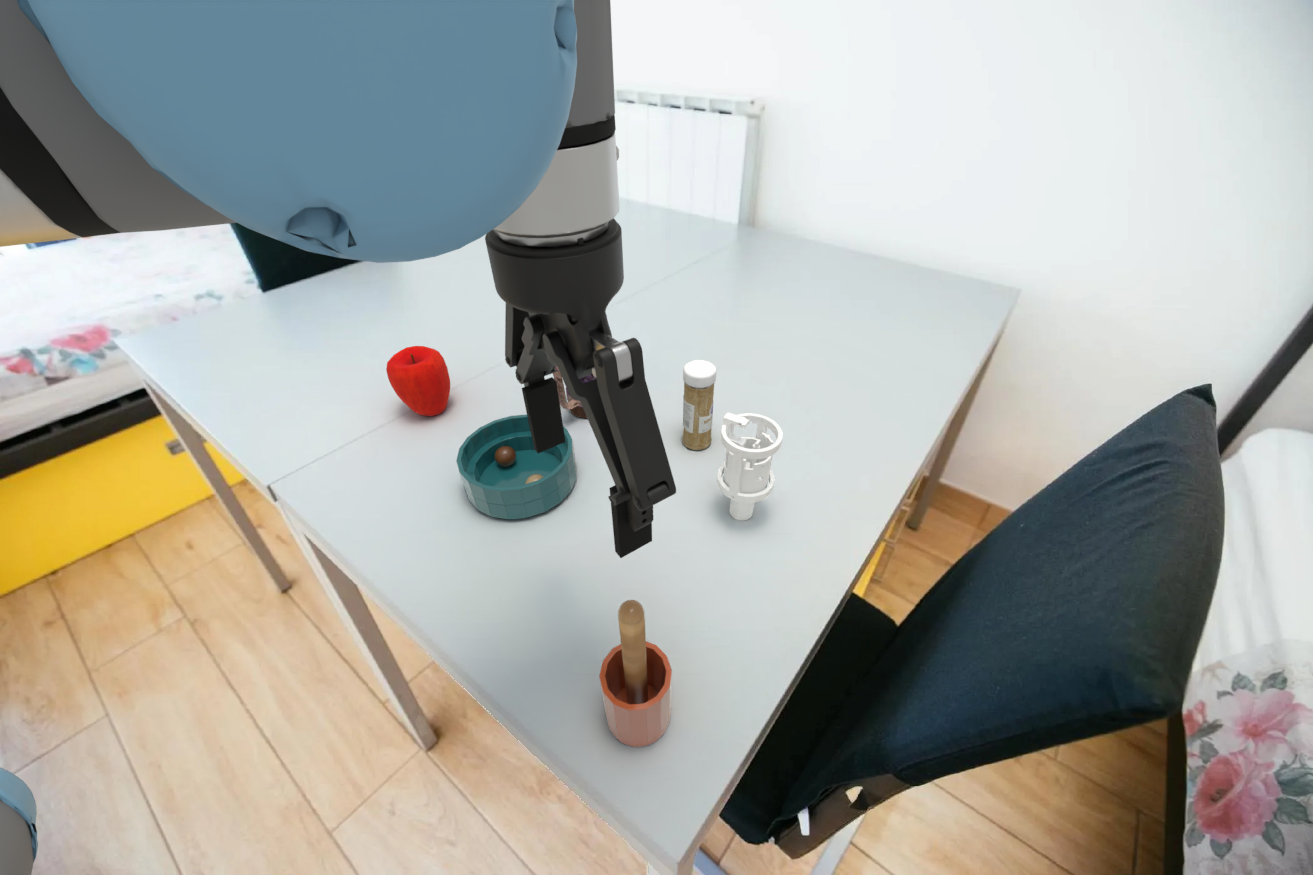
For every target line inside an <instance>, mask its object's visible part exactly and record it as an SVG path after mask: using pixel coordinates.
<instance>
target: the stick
mask: <svg viewBox="0 0 1313 875" xmlns="http://www.w3.org/2000/svg"><path fill="white" fill-rule="evenodd" d="M617 619H618V626H619V627H618V628H619V637H620V638H619V639H620V644H621V648H622V658H623V667H624V677H625V687H626V696H627V703H628V704H642V703H646V702H647V701H648V681H647V660H646V642H647V641H646V639H647V638H646V618H645V608H644V607H643V605H642V604H641V602H639V601H638V600H635V599H627V600H625V601H623V602H622V603H621V604H620V606H619V608H618V611H617Z"/></svg>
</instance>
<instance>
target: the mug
mask: <svg viewBox="0 0 1313 875" xmlns="http://www.w3.org/2000/svg"><path fill="white" fill-rule="evenodd" d="M555 367H556V369H555V370H557V372H555V373H552V377H553V379H554V380H555V381H556V383H557V389H558V396H559V402H560V408H562V409H564V410H569V412H570V413H571V414H572V415H574V416H575V417H577V418H582V419H588V418H587V416H586V413H585V411H584V409H583V406H582V404H581V402H580V401H578V400H574V399H572V398H571V397H570V395H569V393H568V390H567V388H566V387H565V383H564V381H563V378H562V376H561V374H560V371H559V369H558V367H557V366H555ZM595 379H597V378H595V377H594V376H593V374H590V375H587V376H585V377H582V378H579V381H580V382H581V383H587V382H589V381H592V380H595Z"/></svg>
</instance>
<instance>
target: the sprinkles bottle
mask: <svg viewBox="0 0 1313 875" xmlns="http://www.w3.org/2000/svg"><path fill="white" fill-rule="evenodd" d="M682 373H683V374H682V380H683V385H684V386H683V387H684V388H683V402H682V427H683V428H682V437H681V441H682V444H683V445H684V447H686V448H687V449H690V450H693V451H701V450H705V449H707V448H708V447H709V446H710V445H711V443H712V426H713V417H714V416H713V415H714V414H713V413H714V394H715V383H716V380H717V366H715V364H713V363H712V362H711V361H708V360H705V359H694V360H690V361H689V362H687V363H686V364H685V365H684V366H683V371H682Z"/></svg>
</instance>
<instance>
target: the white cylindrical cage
mask: <svg viewBox="0 0 1313 875" xmlns="http://www.w3.org/2000/svg"><path fill="white" fill-rule="evenodd" d="M750 422H752V424H756V425H757V427H756V433H755V437H752V436H751V437H750V436H738V435H736V434H734V430H735V426H737V427H739V428H742V429H746V428H747V426H748V425H749V424H750ZM768 429H769V430H770V431H771V432H772V433H773V434H774V435H775V437H776V440H775V442H774V440H773V439H772V436H771V435H770V434H767V432H768ZM720 431H721V432H720V441H721V444H722V446H723V448H725V449H726V450H725V458H724V462H723V463H721V465H720V466H719V468H718V470H717V477H716V483H717V484H716V485H717V487H718V489H719V491H720V492H721V493H722V494H723V495H724V496H725V497H727V498H728V499H729V500H730V504H729V514H730V516H731V517H732V518H733V519H735V520H736V521H741V522H742V521H747V520H750V519H751V518H752V517H753V514H754V508H755V503H758V502H761V501H763V500H765V499H767V498H768V497H769V496H770V495H771V494H772V493H773V490H774V486H775V478H776V477H775V474H774V471H773V470H772V469H771V465H772V461H773V455H775V454H776V453H778V451H779V450H780V449H781V446H782V441H783V436H784V433H783V430H782V428H781V426H780V425H779V424H778V423H777V422H776V421H775V420H774V419H772V418H770V417H769V416H766V415H763V414H759V413H751V412H745V413H739V414H735V413H732V412H726V413H725V414H724V416H723V421H722V426H721V430H720Z"/></svg>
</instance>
